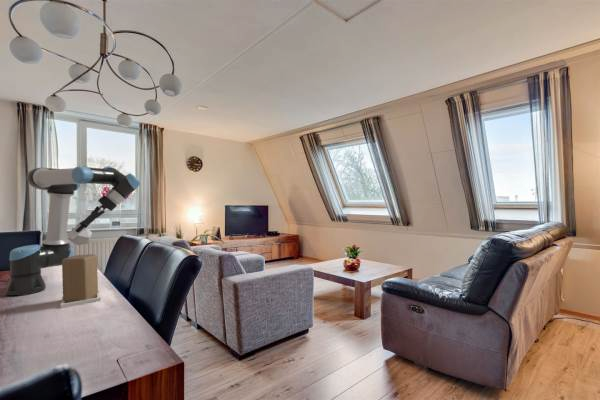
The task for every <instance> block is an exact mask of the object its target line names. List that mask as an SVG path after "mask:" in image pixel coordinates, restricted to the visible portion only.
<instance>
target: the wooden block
mask: <svg viewBox="0 0 600 400" xmlns="http://www.w3.org/2000/svg"><path fill="white" fill-rule="evenodd" d="M61 270H62V271H61V272H62V274H61V275H62V297H63V301H65V303H69V302H75V301H81V300H87V299H92V298H97V294H98V291H99V285H98V284H99V282H98V281H99V280H98V279H99V278H98V277H99V276H98V255H97V254H93V253H92V254H75V255H73V256H72V257H68V258H65V259H63V260H62V265H61Z"/></svg>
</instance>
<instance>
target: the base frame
mask: <svg viewBox="0 0 600 400" xmlns="http://www.w3.org/2000/svg"><path fill="white" fill-rule="evenodd" d="M101 298H102V297H101V293H100V290H98V294H97V296H96V297H95V298H92V299H87V300H81V301H75V302H69V303H65V301H63V296H62V297H61V301H60V309H65V308H70V307H74V306H76V307H77V306H79V305H80V306H81V305H86V304H91V303H97V302H96V301H98V302H101V301H100V300H102V299H101Z"/></svg>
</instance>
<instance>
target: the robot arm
mask: <svg viewBox="0 0 600 400" xmlns="http://www.w3.org/2000/svg"><path fill="white" fill-rule="evenodd" d="M26 181H27V182H28V184H29V185H30V186H31V188H35V189H38V190H42V191H46V194H47V195H49V197H50V198H49V207H48V215H47V216H48V217H47V218H48V219H47V227H46V229H47V230H46V238H45V240H43V241H42V242H41V243H42V244H41V245H40V244H30V245H23V246H20V247H16V248H13V249H12V250H10V253H9V258H8V260H9V270H10V271H9V272H10V273H9V275H10V276H9V277H10V279H9V281H8V284H7V287H6V290H5V295H20V296H24V295H23V294H27V295H30V294H29V293H32V294H35V293H34V292H36V293H39V292H38V291H40V292H42V291H41V290H43V291H45V290H46V289H45V288H46V282H45V280H44V279H43V276H42V269H45V268H50V267H55V266H62V260H63V259H65V258H68V257H72V256H74V252H75V251H74V248H73V245H72V243H70V240H68V238H69V237H70V238H71V239H74V238H75V237H76V236H77V235H78V234H79V233H81V232H82V231H83V230H84V229H85V228H87V229H88V227H89V225H90V224H92V223H93V222H94V221H96V219H97V218H99V217H101V215H103V214H104V213H105V210H106V209H107V210H109V211H113V210H115V208H117V206H118V205H120V204H121V203H122V202H124V200H125V199H127V197H129V196H130V195H131V194H132V193H133V192H134V191H135V190H137V189H138V187H139V186H140V185H141V181H140V180H139V178H137V176H135V175H133V174H132V173H130V172H129V173H128V174H126V175H125V174H123V173H122V172H120V171H119V170H118V169H116V168H115V167H112V166H105V167H103V168H101V167H99V168H98V167H89V166H75V167H72V168H71V167H70V168H51V167H35V168H33V169H31V170H29V171H28V173H27V175H26ZM81 184H82V185H85V184H86V185H87V184H89V185H90V184H94V185H95V184H98V185H109V186H110V185H111V186H112V188H111V189H107V192H106V193H105V195H102V196H101V197H100V198H99V199H98V203H99V204H100V206H98V205H97V206H96V207H95V208H94V210H93V211H91V212H90V214H89V215H88V216H87V217H85V219H83V220H82V221H80V222H78V225H77V226H75V227H74V228H75V229H74V230H73V231H72V232H71V231H70V232H68V224H69V214H70V213H69V212H70V200H71V197H72V196H73V195H74V194H75V191H77V190H79V188H80V185H81ZM84 227H85V228H84ZM67 232H68V233H67ZM67 237H68V238H67ZM44 289H45V290H44Z"/></svg>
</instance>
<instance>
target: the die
mask: <svg viewBox="0 0 600 400" xmlns="http://www.w3.org/2000/svg"><path fill="white" fill-rule="evenodd" d="M84 228H85V227H84ZM74 229H75V227H72V229H71V230H70V232H72V231H73V230H74ZM92 235H93V232H92V231H91V230H90V229H88V227H87V228H85V229H84V230H83V231H82V232H81V233H79V234H78V235H77V236H76V237H75V238H74V239H71V238H70V237H69V236H68V238H67V240H68V241H69V242H71V243H73V244H74V245H77V246H81V245H86V244H89V243H90V240H91V237H92Z"/></svg>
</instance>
